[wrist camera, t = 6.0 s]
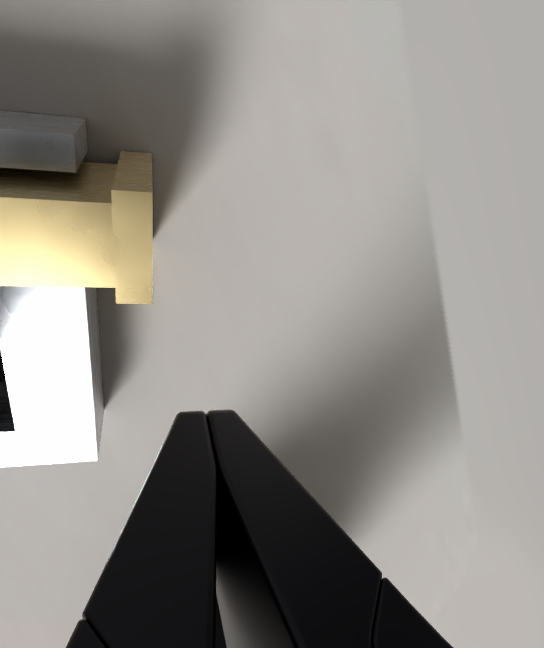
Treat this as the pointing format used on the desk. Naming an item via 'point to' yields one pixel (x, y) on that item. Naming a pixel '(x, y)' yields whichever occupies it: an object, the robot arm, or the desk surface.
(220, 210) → the desk surface
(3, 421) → the socket
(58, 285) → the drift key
